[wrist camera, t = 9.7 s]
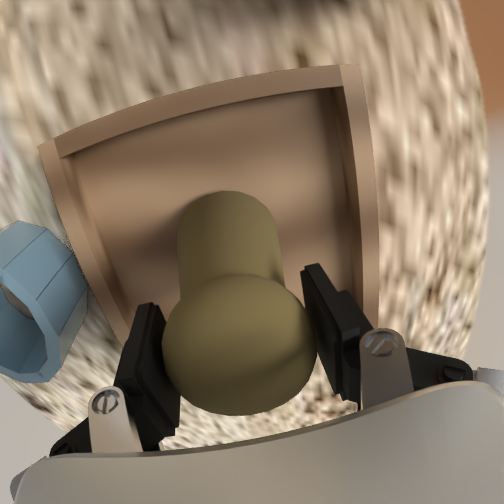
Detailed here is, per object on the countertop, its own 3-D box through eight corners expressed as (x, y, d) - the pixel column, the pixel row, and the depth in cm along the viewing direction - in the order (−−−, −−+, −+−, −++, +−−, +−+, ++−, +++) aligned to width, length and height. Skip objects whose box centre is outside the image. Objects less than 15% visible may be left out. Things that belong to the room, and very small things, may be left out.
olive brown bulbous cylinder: (244, 298, 20) (270, 448, 11) (159, 257, 18) (118, 406, 9) (297, 222, 19) (380, 349, 9) (208, 170, 17) (198, 265, 7)
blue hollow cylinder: (-28, 242, 18) (-69, 277, 12) (54, 205, 18) (8, 240, 12) (23, 338, 22) (-3, 383, 17) (107, 324, 22) (87, 379, 17)
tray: (60, 140, 16) (37, 146, 13) (338, 69, 16) (359, 63, 14) (149, 356, 24) (144, 383, 21) (362, 307, 24) (377, 329, 22)
